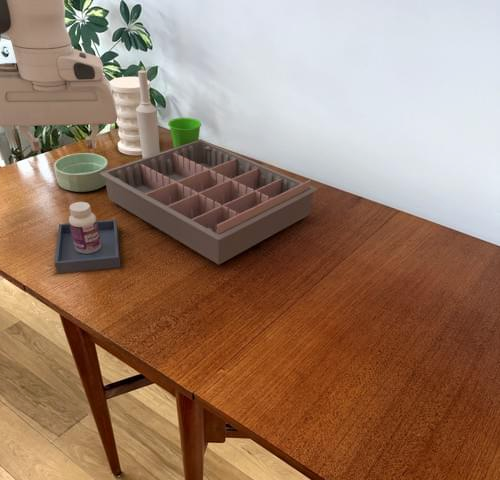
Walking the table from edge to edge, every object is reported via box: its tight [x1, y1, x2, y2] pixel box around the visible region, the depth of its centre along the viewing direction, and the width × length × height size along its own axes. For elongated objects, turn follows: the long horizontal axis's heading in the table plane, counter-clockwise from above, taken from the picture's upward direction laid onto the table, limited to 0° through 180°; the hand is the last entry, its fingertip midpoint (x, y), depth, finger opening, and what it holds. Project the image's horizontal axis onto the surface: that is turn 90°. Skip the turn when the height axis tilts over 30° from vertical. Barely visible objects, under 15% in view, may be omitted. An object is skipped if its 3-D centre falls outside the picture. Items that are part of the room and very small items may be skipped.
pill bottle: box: [68, 201, 101, 254], centre depth 95 cm, size 5×5×10 cm
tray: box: [54, 219, 121, 274], centre depth 98 cm, size 12×15×2 cm
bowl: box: [53, 152, 110, 193], centre depth 120 cm, size 13×13×5 cm
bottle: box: [136, 69, 161, 159], centre depth 119 cm, size 5×5×25 cm
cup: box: [167, 117, 202, 148], centre depth 129 cm, size 9×9×11 cm
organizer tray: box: [100, 138, 318, 265], centre depth 109 cm, size 32×40×10 cm
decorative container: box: [109, 76, 151, 156], centre depth 133 cm, size 12×12×18 cm
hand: (64, 148), depth 84 cm, fingers open, 8 cm apart
